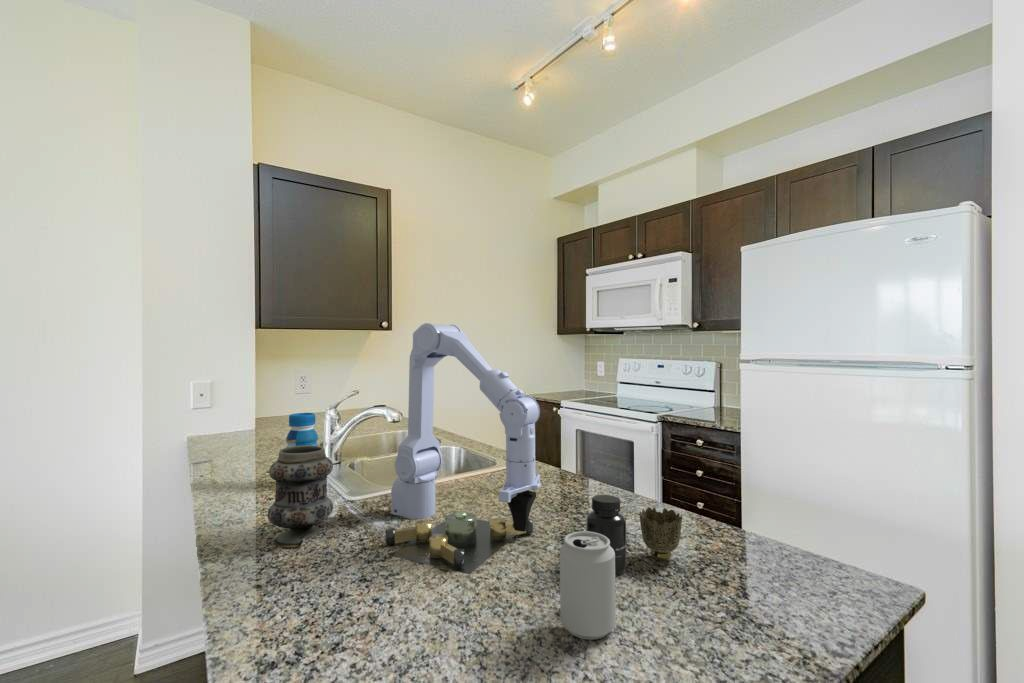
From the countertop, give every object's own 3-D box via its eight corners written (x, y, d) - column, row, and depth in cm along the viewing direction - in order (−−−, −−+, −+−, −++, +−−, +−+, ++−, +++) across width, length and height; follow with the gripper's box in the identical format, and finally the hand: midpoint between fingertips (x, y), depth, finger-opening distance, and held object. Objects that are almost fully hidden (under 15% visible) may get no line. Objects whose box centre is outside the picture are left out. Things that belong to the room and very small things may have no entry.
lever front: (426, 554, 84) (426, 537, 85) (441, 548, 87) (441, 532, 87) (454, 570, 78) (454, 552, 78) (470, 564, 80) (469, 547, 80)
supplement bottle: (627, 579, 78) (626, 506, 78) (585, 575, 79) (584, 503, 79) (625, 561, 85) (625, 493, 85) (587, 557, 86) (586, 491, 86)
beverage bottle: (310, 490, 128) (310, 416, 128) (279, 490, 128) (279, 416, 128) (323, 481, 136) (323, 412, 136) (294, 481, 136) (294, 412, 137)
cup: (682, 552, 88) (682, 509, 88) (683, 570, 81) (682, 523, 81) (641, 547, 90) (640, 505, 91) (638, 563, 83) (637, 518, 84)
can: (555, 612, 68) (555, 529, 68) (606, 610, 69) (605, 527, 69) (566, 645, 61) (565, 551, 61) (623, 641, 61) (622, 548, 62)
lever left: (430, 534, 93) (430, 519, 93) (433, 540, 90) (433, 525, 90) (385, 540, 90) (385, 525, 90) (386, 547, 87) (386, 531, 87)
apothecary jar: (345, 532, 99) (345, 445, 99) (297, 555, 88) (297, 457, 88) (304, 523, 104) (304, 441, 104) (253, 544, 93) (253, 452, 93)
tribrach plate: (387, 561, 85) (387, 525, 85) (454, 520, 105) (454, 491, 105) (469, 581, 78) (469, 542, 78) (524, 533, 97) (524, 502, 97)
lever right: (492, 540, 90) (492, 524, 90) (488, 534, 93) (488, 518, 93) (535, 535, 93) (535, 519, 93) (530, 529, 96) (530, 514, 96)
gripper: (523, 469, 84) (523, 546, 84) (553, 454, 97) (554, 521, 97) (488, 465, 87) (488, 540, 87) (522, 451, 100) (522, 516, 100)
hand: (521, 529), depth 92 cm, fingers closed, pressing on lever right
